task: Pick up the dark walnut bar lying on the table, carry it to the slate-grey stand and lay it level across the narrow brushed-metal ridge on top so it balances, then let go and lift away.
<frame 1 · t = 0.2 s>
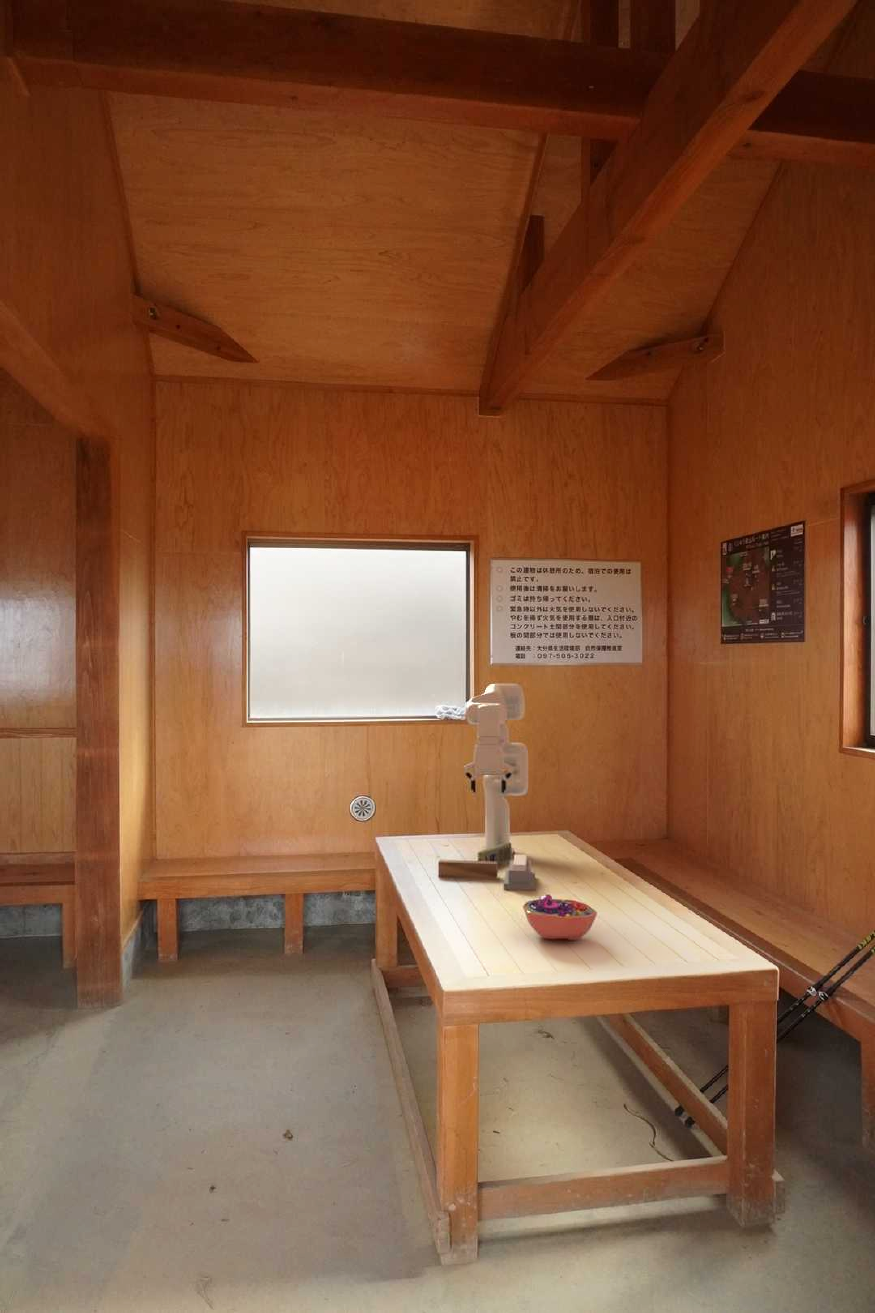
hand: (488, 792, 277), 30 cm above the table, tool pointing down, fingers open, 9 cm apart
handheld radio: (491, 867, 299), on the table
ridge stand: (519, 883, 276), on the table
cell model: (559, 939, 222), on the table
walnut bar: (467, 877, 284), on the table
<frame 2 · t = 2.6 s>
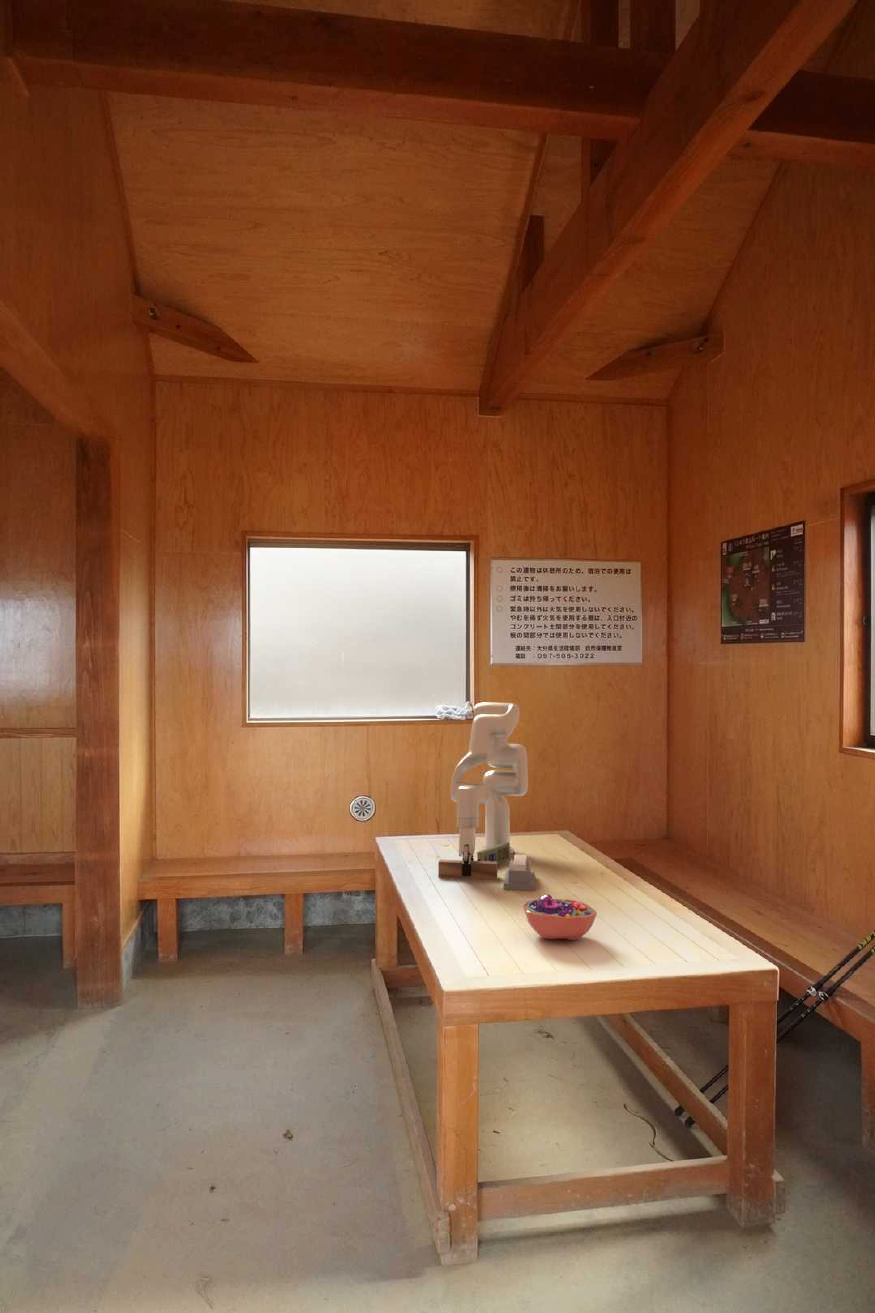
hand: (467, 872, 284), 2 cm above the table, tool pointing down, fingers open, 8 cm apart
nothing on the table moved.
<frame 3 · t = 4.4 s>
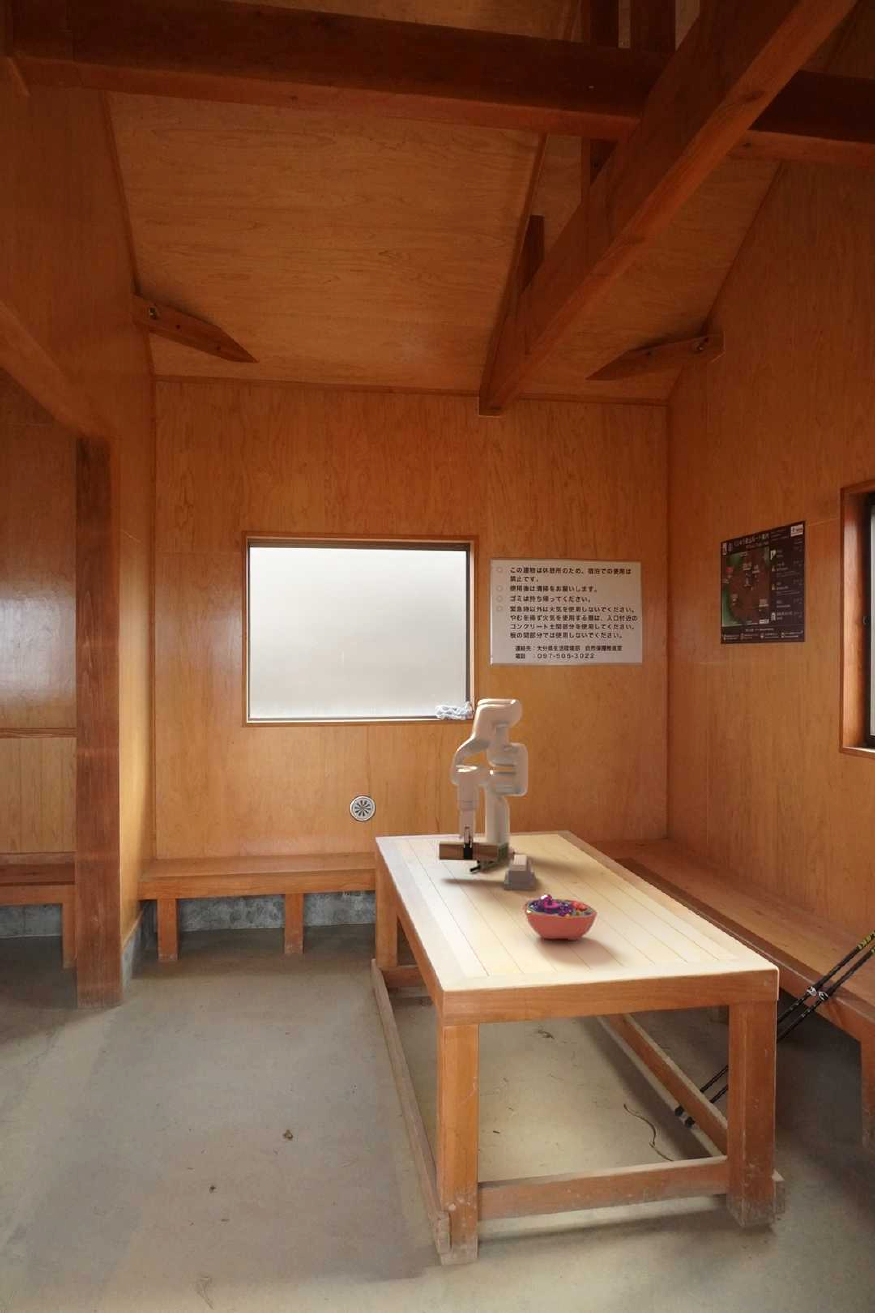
hand: (468, 857, 285), 7 cm above the table, tool pointing down, fingers closed on walnut bar, 3 cm apart
walnut bar: (468, 859, 285), point 6 cm above the table, touching gripper
everything else where it was.
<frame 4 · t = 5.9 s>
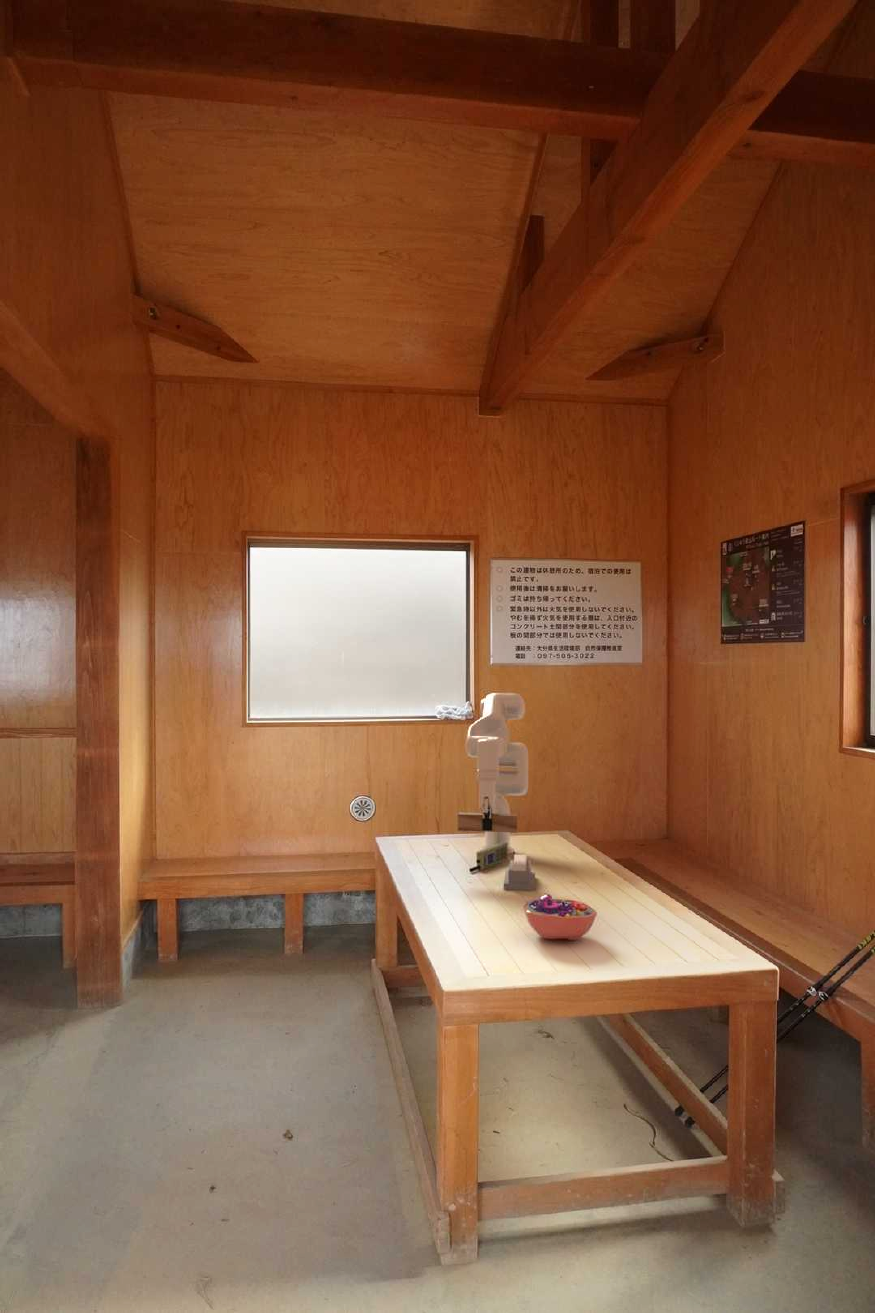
hand: (487, 828, 281), 17 cm above the table, tool pointing down, fingers closed on walnut bar, 3 cm apart
walnut bar: (487, 830, 281), point 17 cm above the table, touching gripper
everything else where it was.
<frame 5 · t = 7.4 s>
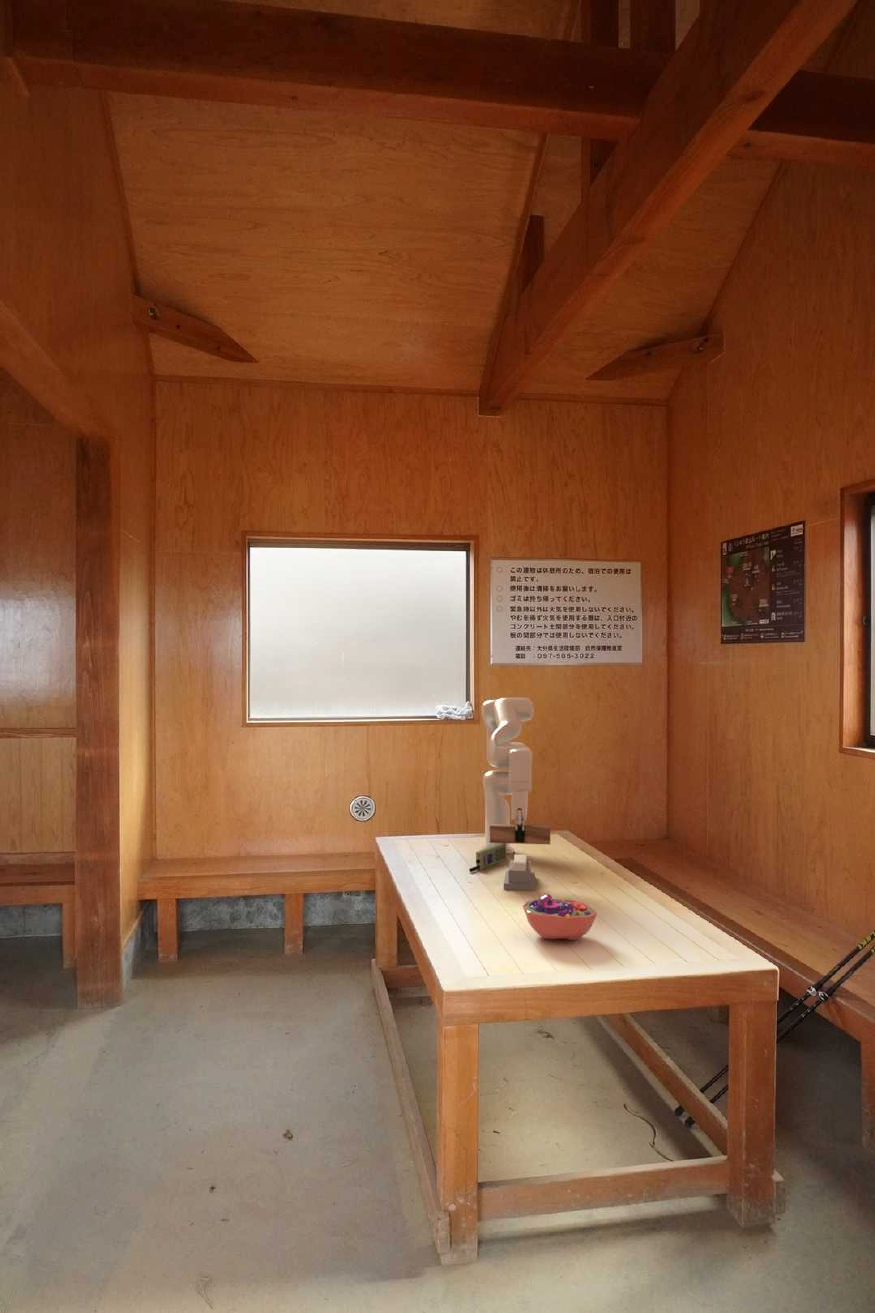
hand: (520, 840, 276), 14 cm above the table, tool pointing down, fingers closed on walnut bar, 3 cm apart
walnut bar: (520, 842, 276), point 14 cm above the table, touching gripper
when the fingers open (10 cm above the table, at t = 8.6 s): walnut bar stays where it is, resting on ridge stand.
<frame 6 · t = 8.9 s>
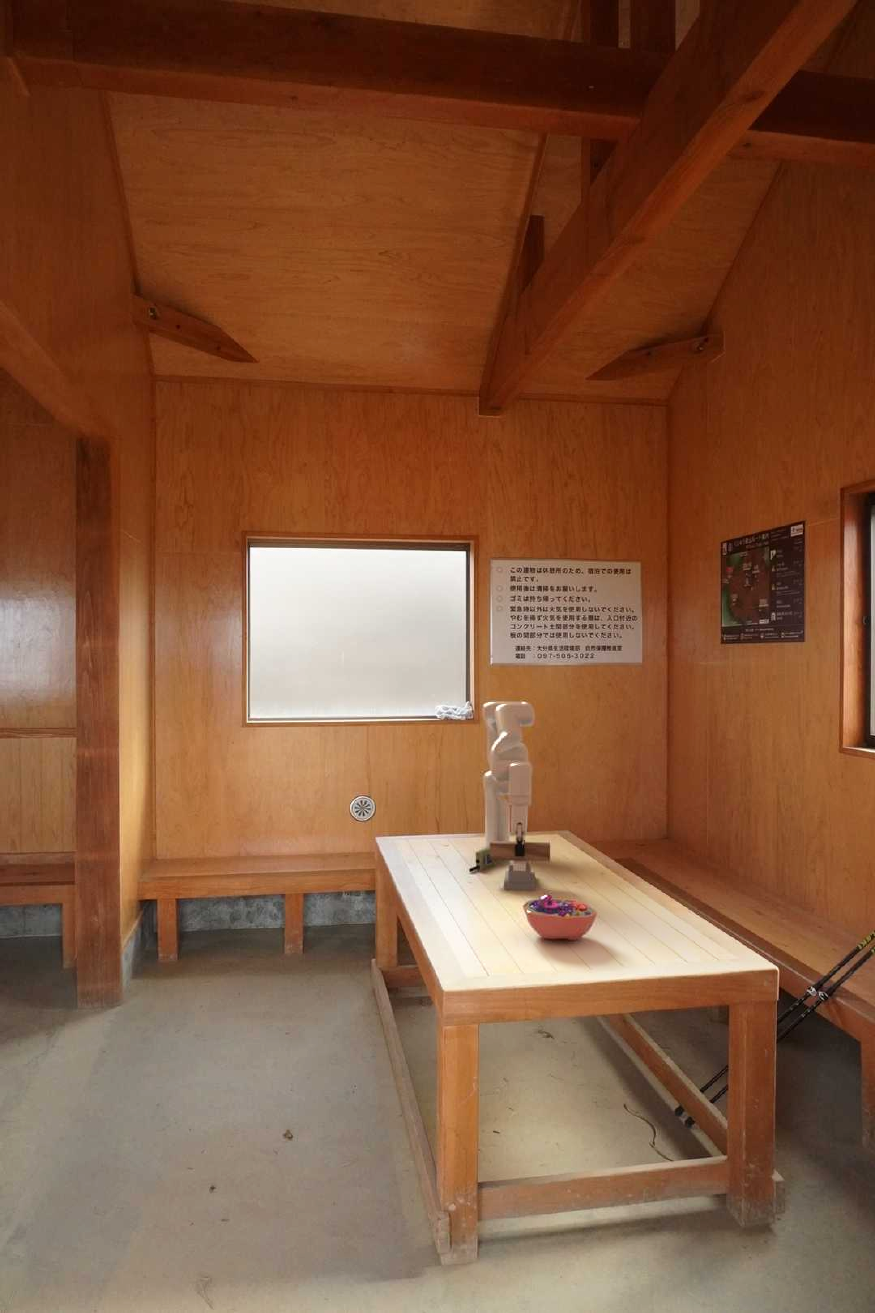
hand: (519, 853, 276), 10 cm above the table, tool pointing down, fingers open, 6 cm apart
walnut bar: (519, 859, 276), point 8 cm above the table, touching ridge stand
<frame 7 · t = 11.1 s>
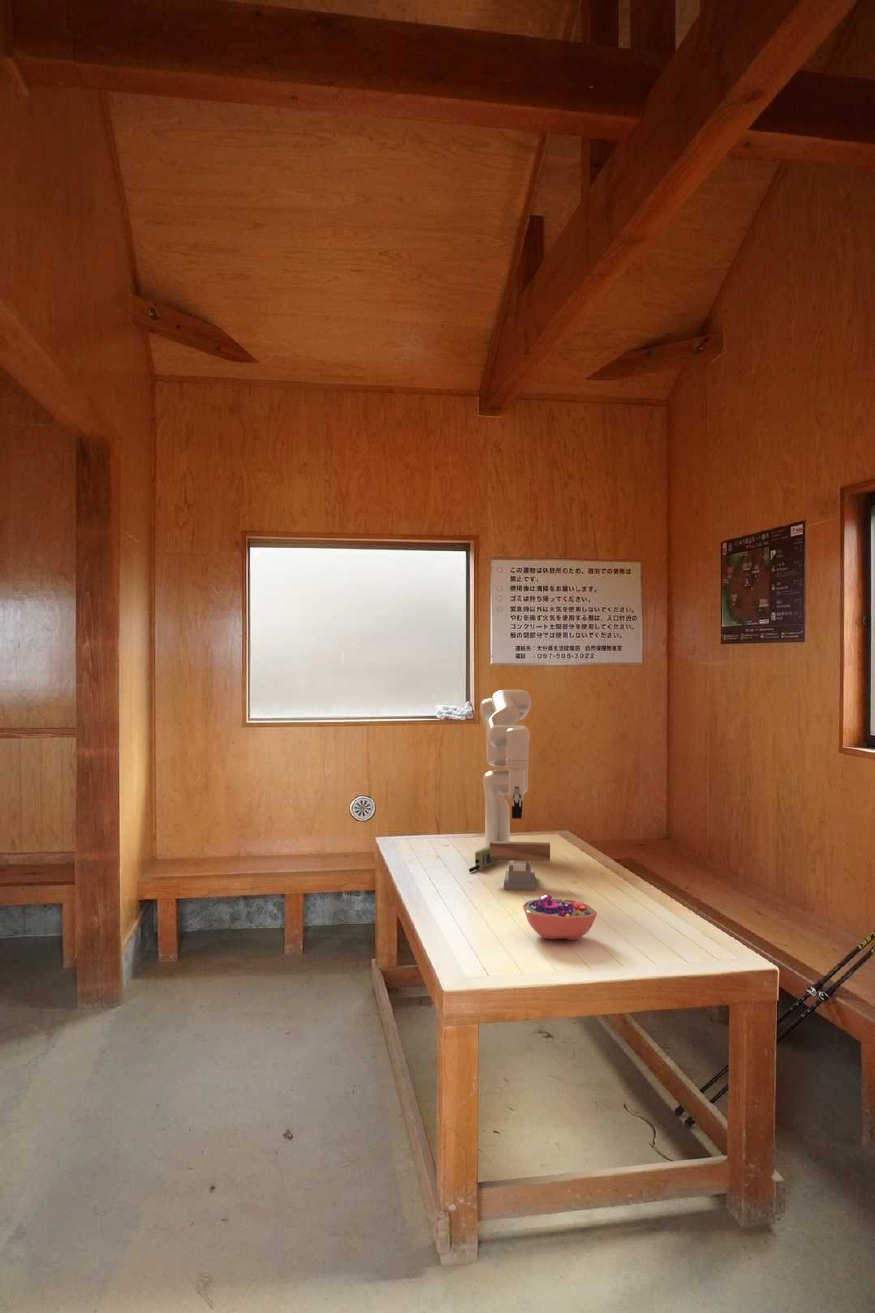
hand: (517, 815, 278), 22 cm above the table, tool pointing down, fingers open, 9 cm apart
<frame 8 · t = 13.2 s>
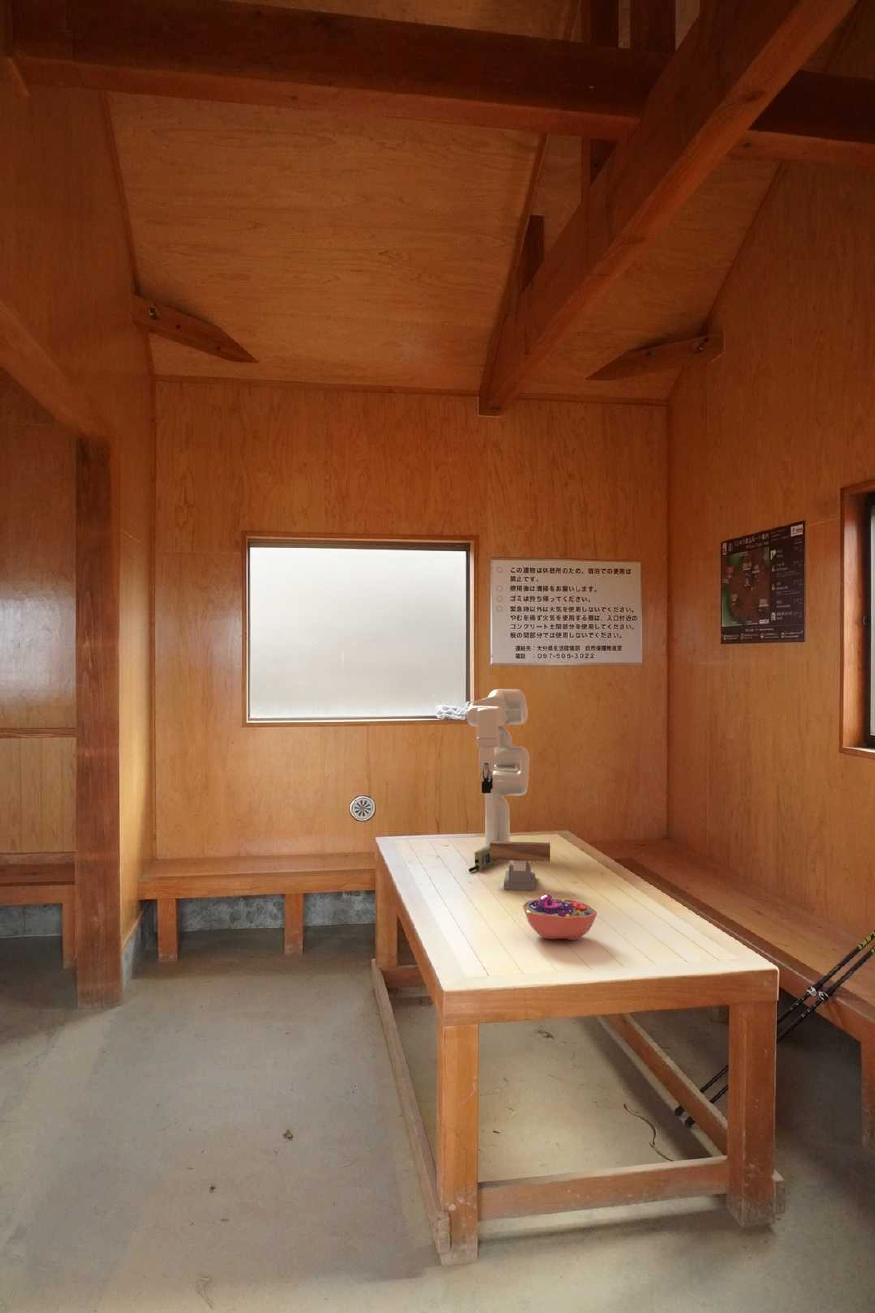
hand: (487, 791, 292), 28 cm above the table, tool pointing down, fingers open, 9 cm apart
at the end: walnut bar inside the target area on the ridge stand (0.1 cm from its centre), point 8.0 cm above the ridge stand's base; walnut bar tilted 0°; the gripper is holding nothing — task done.
